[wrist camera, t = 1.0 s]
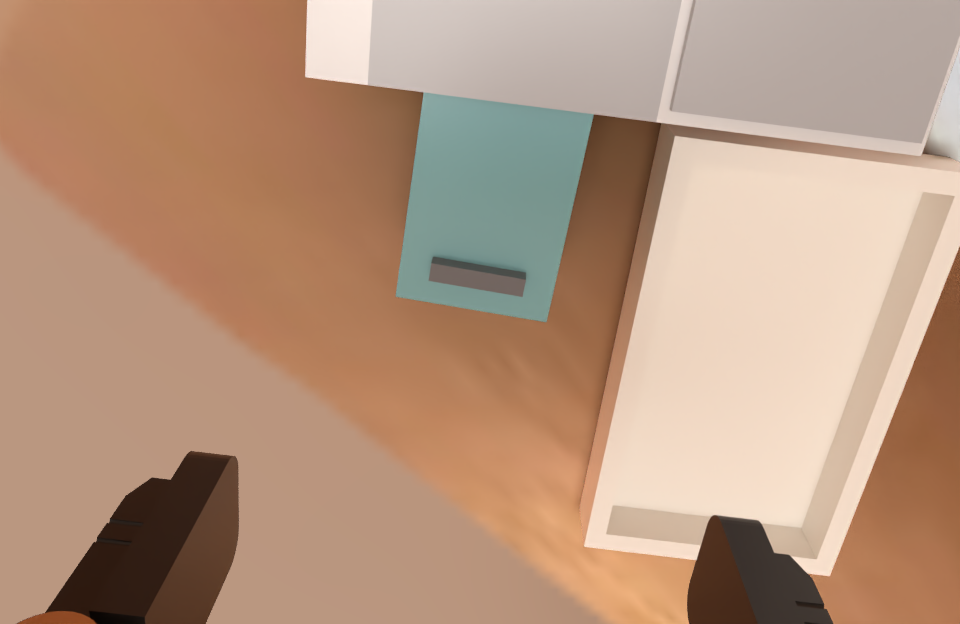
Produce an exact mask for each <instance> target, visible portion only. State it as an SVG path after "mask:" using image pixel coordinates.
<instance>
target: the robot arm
mask: <svg viewBox="0 0 960 624" xmlns="http://www.w3.org/2000/svg"><path fill="white" fill-rule="evenodd" d="M238 529H239V508H238V461H237V458H236V457H235V456H228V455H219V454H211V453H202V452H194V451H190V452H189V453H188V454H187V455H186V457H185V458H184V460H183V461H182V463H181V464H180V466H179V468H178V469H177V471H176V472H175V474H174V476H173V477H172V479H171V480H167V479H159V478H151V479H149V480H148V481H147V482H145V483H144V484H142V485H141V486H139V487H138V488H137V489H135V490H134V491H132V492H131V493H129V494H128V495H126V496H125V498H124V499H123V501H122V502H121V504H120V505H119V506H118V508H117V509H116V511H115V512H114V514H113V515H112V517H111V518H110V522H109V523H107V524H106V526H105V527H104V528H103V530H102V531H101V533H100V534H99V535H98V537H97V541H96V542H94V543H93V544H92V546H91V547H90V549H89V550H88V551H87V553H86V554H85V556H84V557H83V559H82V560H81V562H80V563H79V564H78V566H77V567H76V569H75V570H74V572H73V573H72V575H71V576H70V577H69V579H68V580H67V582H66V583H65V585H64V586H63V588H62V589H61V591H60V592H59V593H58V595H57V596H56V598H55V599H54V601H53V602H52V604H51V605H50V606H49V608H48V609H47V611H46V612H45V613H42V614H39V615H35V616H32V617H30V618H27V619H25V620H22V621H20V622H18V623H17V624H206V622H207V619H208V617H209V615H210V612H211V610H212V608H213V606H214V603H215V601H216V599H217V597H218V595H219V592H220V590H221V588H222V586H223V583H224V581H225V579H226V576H227V574H228V572H229V570H230V567H231V565H232V562H233V559H234V555H235V551H236V546H237V541H238ZM687 611H688V620H689V624H833V622H832V620H831V618H830V615H829V613H828V611H827V609H824V603H823V601H822V599H821V596H820V594H819V592H818V590H817V588H816V586H815V584H814V582H813V579H812V578H811V577H810V576H809V575H808V574H807V573H806V572H805V571H804V570H803V569H802V568H801V566H800V565H799V564H798V563H797V562H796V561H795V560H794V559H793V558H792V557H791V556H790V555H788V554H779V553H774V551H773V549H772V546H771V544H770V542H769V539H768V537H767V535H766V532H765V530H764V528H763V526H762V524H761V523H760V521H758V520H753V519H745V518H736V517H728V516H719V515H713V516H712V517H711V518H710V519H709V521H708V524H707V527H706V530H705V534H704V537H703V540H702V544H701V547H700V550H699V553H698V557H697V560H696V563H695V567H694V570H693V573H692V577H691V580H690V584H689V589H688V598H687Z"/></svg>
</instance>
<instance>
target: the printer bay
mask: <svg viewBox="0 0 960 624" xmlns="http://www.w3.org/2000/svg"><path fill="white" fill-rule="evenodd" d="M959 48H960V0H307V34H306V70H305V77H308V78H316V79H324V80H332V81H339V82H347V83H355V84H363V85H371V86H378V87H386V88H394V89H402V90H409V91H417V92H425V93H433V94H440V95H448V96H456V97H464V98H472V99H479V100H487V101H495V102H503V103H510V104H518V105H526V106H534V107H541V108H549V109H557V110H565V111H573V112H580V113H588V114H596V115H604V116H611V117H619V118H627V119H635V120H643V121H650V122H658V123H666V124H674V125H681V126H689V127H697V128H705V129H712V130H720V131H728V132H736V133H744V134H751V135H759V136H767V137H775V138H782V139H790V140H798V141H806V142H814V143H821V144H829V145H837V146H845V147H852V148H860V149H868V150H876V151H883V152H891V153H899V154H907V155H915V156H921V155H922V152H923V150H924V147H925V144H926V141H927V138H928V135H929V133H930V130H931V127H932V124H933V121H934V118H935V116H936V113H937V110H938V107H939V104H940V102H941V99H942V96H943V93H944V90H945V87H946V85H947V82H948V79H949V76H950V73H951V71H952V68H953V65H954V62H955V59H956V56H957V54H958V51H959Z"/></svg>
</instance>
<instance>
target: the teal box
mask: <svg viewBox="0 0 960 624" xmlns="http://www.w3.org/2000/svg"><path fill="white" fill-rule="evenodd" d="M593 116H594V114H588V113H580V112H573V111H565V110H557V109H549V108H541V107H534V106H526V105H518V104H510V103H503V102H495V101H487V100H479V99H472V98H464V97H456V96H448V95H440V94H433V93H425V92H424V94H423V102H422V109H421V116H420V123H419V131H418V138H417V145H416V152H415V160H414V167H413V174H412V181H411V189H410V196H409V203H408V210H407V218H406V225H405V232H404V239H403V247H402V254H401V261H400V268H399V276H398V283H397V290H396V297H401V298H407V299H413V300H418V301H424V302H430V303H436V304H442V305H448V306H454V307H460V308H465V309H471V310H477V311H483V312H489V313H495V314H501V315H507V316H512V317H518V318H524V319H530V320H536V321H542V322H547V318H548V313H549V309H550V305H551V300H552V296H553V291H554V287H555V283H556V278H557V274H558V269H559V265H560V261H561V256H562V252H563V248H564V243H565V239H566V234H567V230H568V226H569V221H570V217H571V212H572V208H573V204H574V199H575V195H576V190H577V186H578V182H579V177H580V173H581V169H582V164H583V160H584V155H585V151H586V147H587V142H588V138H589V133H590V129H591V125H592V120H593Z"/></svg>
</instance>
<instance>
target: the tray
mask: <svg viewBox="0 0 960 624" xmlns="http://www.w3.org/2000/svg"><path fill="white" fill-rule="evenodd" d="M959 246H960V162H958V161H956V160H954V159H952V158H950V157H944V156H936V155H928V154H922V155H921V156H915V155H907V154H899V153H891V152H883V151H876V150H868V149H860V148H852V147H845V146H837V145H829V144H821V143H814V142H806V141H798V140H790V139H782V138H775V137H767V136H759V135H751V134H744V133H736V132H728V131H720V130H712V129H705V128H697V127H689V126H681V125H674V124H666V123H661V127H660V132H659V136H658V141H657V146H656V151H655V155H654V160H653V165H652V169H651V174H650V179H649V183H648V188H647V193H646V197H645V202H644V207H643V211H642V216H641V221H640V226H639V230H638V235H637V240H636V244H635V249H634V254H633V258H632V263H631V268H630V272H629V277H628V282H627V286H626V291H625V296H624V301H623V305H622V310H621V315H620V319H619V324H618V329H617V333H616V338H615V343H614V347H613V352H612V357H611V361H610V366H609V371H608V376H607V380H606V385H605V390H604V394H603V399H602V404H601V408H600V413H599V418H598V422H597V427H596V432H595V437H594V441H593V446H592V451H591V455H590V460H589V465H588V469H587V474H586V479H585V483H584V488H583V493H582V497H581V502H580V507H579V509H580V518H581V526H582V535H583V543H584V547H591V548H599V549H608V550H616V551H624V552H633V553H641V554H649V555H658V556H666V557H674V558H683V559H691V560H697V557H698V553H699V550H700V547H701V544H702V540H703V537H704V534H705V530H706V527H707V524H708V521H709V519H710V518H711V517H712V516H713V515H719V516H728V517H736V518H745V519H753V520H758V521H760V523H761V524H762V526H763V528H764V530H765V532H766V535H767V537H768V539H769V542H770V544H771V546H772V549H773V551H774V553H779V554H788V555H790V556H791V557H792V558H793V559H794V560H795V561H796V562H797V563H798V564H799V565H800V566H801V568H802V569H803V570H804V571H805V572H806V573H808V574H816V575H825V576H830V574H831V572H832V569H833V566H834V564H835V561H836V559H837V556H838V554H839V551H840V549H841V546H842V544H843V541H844V538H845V536H846V533H847V531H848V528H849V526H850V523H851V521H852V518H853V516H854V513H855V511H856V508H857V505H858V503H859V500H860V498H861V495H862V493H863V490H864V488H865V485H866V483H867V480H868V477H869V475H870V472H871V470H872V467H873V465H874V462H875V460H876V457H877V455H878V452H879V449H880V447H881V444H882V442H883V439H884V437H885V434H886V432H887V429H888V427H889V424H890V422H891V419H892V416H893V414H894V411H895V409H896V406H897V404H898V401H899V399H900V396H901V394H902V391H903V388H904V386H905V383H906V381H907V378H908V376H909V373H910V371H911V368H912V366H913V363H914V361H915V358H916V355H917V353H918V350H919V348H920V345H921V343H922V340H923V338H924V335H925V333H926V330H927V327H928V325H929V322H930V320H931V317H932V315H933V312H934V310H935V307H936V305H937V302H938V300H939V297H940V294H941V292H942V289H943V287H944V284H945V282H946V279H947V277H948V274H949V272H950V269H951V266H952V264H953V261H954V259H955V256H956V254H957V251H958V249H959Z"/></svg>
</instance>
